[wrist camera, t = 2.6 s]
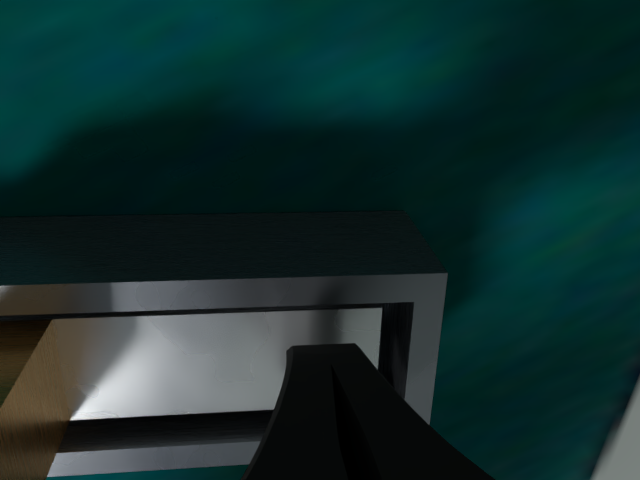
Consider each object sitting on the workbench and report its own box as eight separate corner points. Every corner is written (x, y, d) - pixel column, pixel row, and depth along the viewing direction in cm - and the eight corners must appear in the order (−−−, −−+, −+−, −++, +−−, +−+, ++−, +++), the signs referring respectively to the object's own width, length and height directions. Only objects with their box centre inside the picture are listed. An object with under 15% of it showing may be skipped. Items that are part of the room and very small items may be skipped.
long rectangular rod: (359, 352, 15) (410, 521, 10) (-163, 374, 14) (-380, 580, 9) (364, 264, 14) (423, 407, 9) (-197, 280, 13) (-459, 454, 8)
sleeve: (391, 363, 16) (425, 453, 13) (20, 379, 15) (-39, 481, 12) (405, 210, 14) (447, 273, 11) (-14, 217, 13) (-93, 288, 10)
